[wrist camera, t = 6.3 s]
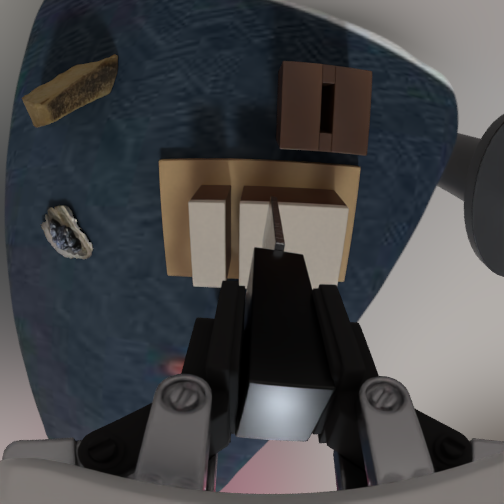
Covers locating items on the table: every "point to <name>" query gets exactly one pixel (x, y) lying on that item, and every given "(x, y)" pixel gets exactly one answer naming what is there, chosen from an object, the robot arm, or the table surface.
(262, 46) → the table surface
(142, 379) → the table surface
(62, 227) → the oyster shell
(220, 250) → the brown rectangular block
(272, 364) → the knife
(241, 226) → the cake loaf
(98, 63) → the rock
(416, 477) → the robot arm
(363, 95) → the knife block
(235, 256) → the board
